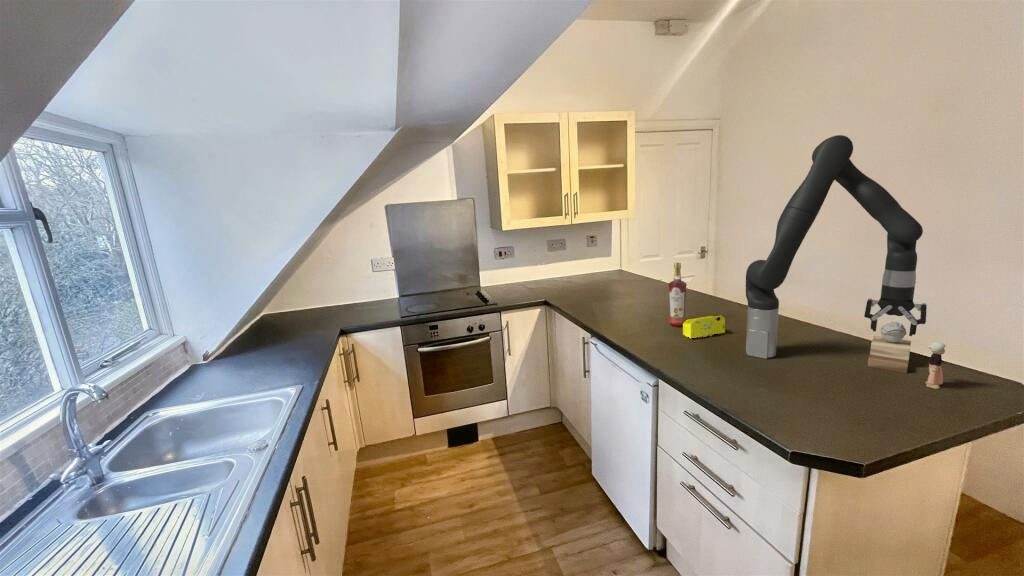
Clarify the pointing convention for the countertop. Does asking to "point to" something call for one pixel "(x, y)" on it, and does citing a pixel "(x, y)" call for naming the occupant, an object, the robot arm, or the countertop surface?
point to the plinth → (889, 354)
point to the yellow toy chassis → (704, 326)
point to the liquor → (677, 298)
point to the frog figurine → (893, 332)
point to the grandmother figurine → (935, 365)
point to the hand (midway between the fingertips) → (892, 333)
